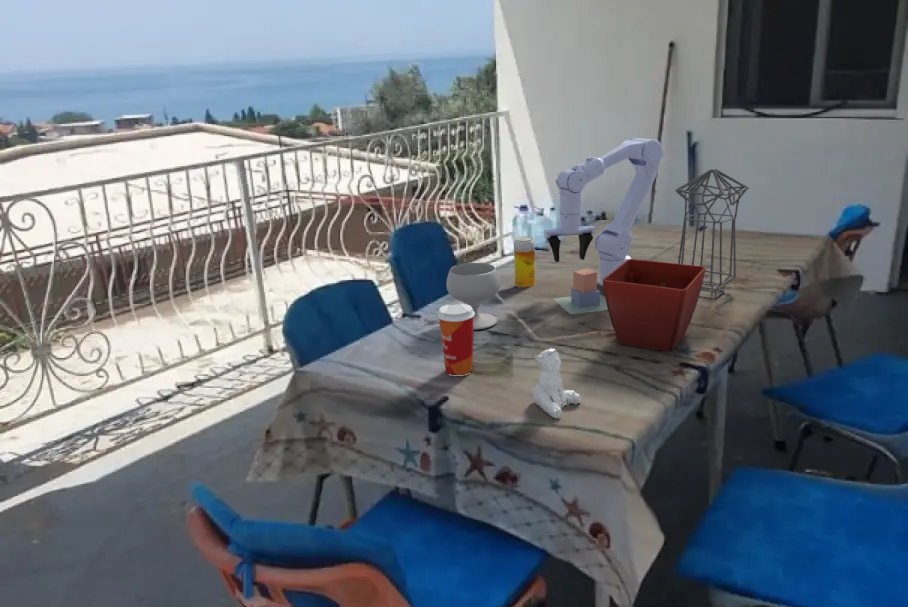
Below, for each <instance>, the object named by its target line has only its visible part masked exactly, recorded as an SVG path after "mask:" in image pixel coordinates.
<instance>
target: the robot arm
mask: <svg viewBox="0 0 908 607" xmlns="http://www.w3.org/2000/svg"><path fill="white" fill-rule="evenodd" d="M663 156H664V150H663V147H662V144H661V142H660V141H659V140H657V139H655V138H653V139H649V138H640V137H639V138H638V137H637V136H634V137H630V138H629V139H626V140H624V141H623V142H622V144H620V145H618V146H617V147H615V148H614V149H612V150H609V152H606V153H605V154H604V155H602V156H600V157H597V156H587V157H586V158H585V160H584V161H583V162H581V163H579V164H574V165H573V166H572V167H571V168H570V169H568V168H567V169H565V168H564V169H563V170H561V171H560V173H559V174H558V176H557V179H555V184H556V186H557V188H558V189H559V193H558V194H559V227H555V228H549V229H544V231H543V233H544V238H546V240H547V241H548V244H549V245H550V248H551V252H552V255H553V260H554V261H555V262H556V263H560V248H561V242H562V241H561V239H559V237H565V236H566V237H567V236H576V235H577V236H578V242H579V244H578V245H579V253H578V255H579V259H580V260H582V261H583V260H585V257H586V254H587V251H588V248H589V247H590V244H591V242H592V240H593V239H594V235H595V234H596V226H593V225H581V212H582V210H581V208H582V207H581V205H582V204H581V203H582V191H583V190H584V189H585V186H586V185H587V184H589V183H590V182H592V181H594V180H596V179H598V178H599V177H602V176H603V175H604V173H605V170H606V169H608V168H610V167H612V166H614V165H616V164H618V163H620V162H622V161H624V160H628V161H629V162H630V164H631V166H632V167H633V169H634V171H635V174H634V177H633V179H632V180H631V184H630V185H629V187H628V189H627V191H626V194H624V197H623V199H622V201H621V203H620V205H619V207H618V210H617V212H616V213H615V216H614V218H613V220H612V222H610V223H609V224H606V225H605V226H604V227H603V229H602V230H601V232H599V233H598V234H597V236H596V237H595V239H594V249H595V250H596V251H597V252H598V254H597V256H599V257H598V258H599V259H598V260H599V261H598V285H600V286H602V287H603V278H605V277H606V276H607V275H609V274H610V273H611V272H613V271H614V270H615V269H616V268H618V267H619V266H620V265H621V264H623V263H624V262H625V261H626V260H628V259H632V257H631V256H630V255H628V254H629V252H630V249H631V243H632V241H633V238H634V237H633V235H632V233H631V228H632V226H633V224H634V222H635V220H636V218H637V216H638V213H640V212H639V211H640V210H641V208H642V206H643V204H644V202H645V200H646V197H647V195H648V193H649V191H650V190H651V188H652V186H653V184H654V181H655V179H656V177H657V175H658V170H659V164H660V161H661V160H662V158H663Z"/></svg>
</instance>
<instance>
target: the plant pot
mask: <svg viewBox="0 0 908 607" xmlns="http://www.w3.org/2000/svg"><path fill="white" fill-rule="evenodd" d="M705 270H707V269H706V267H705V266H703V265H702V266H700V265H695V264H694V265H692V264H684V263H683V264H681V263H680V264H678V263H673V262H663V261H656V260H647V259H646V260H645V259H634V258H631V259H628V260H626V261H625V262H624V263H623V264H621V265H620V266H619V267H618V268H616V269H615V270H614V271H613V272H611V273H610V274H609V275H607V276H606V277H605V278H603V286H602V287H603V293H604V297H605V299H606V303H607V308H608V310H607V313H608V315H609V317H610V318H609V319H610V321H611V326H612V328H613V331H614V334H615V336H616V339H617V341H618V343H619V344H621V345H625V346H630V347H637V348H643V349H648V350H649V349H650V350H655V351H662V352H672V351H674V349H675V348H676V346H677V345H678V344H679V343H680V341H681V340H682V339H683V338H684V336H685V335H686V332H687V330H688V329H689V325H690V323H691V320H692V318H693V315H694V314H695V313H694V312H695V310H696V307H697V304H698V300H699V298H700V297H699V296H701V295H700V294H701V291H702V290H701V289H702V288H701V287H703V285H702V283H704V282H703V281H704V279H705V275H706V272H705Z"/></svg>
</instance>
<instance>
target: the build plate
mask: <svg viewBox="0 0 908 607" xmlns="http://www.w3.org/2000/svg"><path fill="white" fill-rule="evenodd" d="M552 300H553V301H554V302H556V303H557V304H558V305H559V306H560V307H561V308H562V309H564V310H565V311H566V312H567V313H568V314H569V315H579V314H585V313H586V314H588V313H593V312H601V311H603V312H604V311H608V308H607V303H606V299H605V295H602V294H601V293H600V305H599V306H591V307H583V308H579V307H577V306H576V305H575V304H574V303H573V302H571V295H570V296H564V297H554V298H552Z"/></svg>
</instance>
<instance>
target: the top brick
mask: <svg viewBox="0 0 908 607" xmlns="http://www.w3.org/2000/svg"><path fill="white" fill-rule="evenodd" d="M572 275H573V276H572V277H573V281H572V284H573V285H572V287H573V289H575V290H577V291H580V292H582V293H585V292H590V291H594V290H598V287H597V286H598V272H596V271H594V270H591V269H589V268H583V269H579V270H574V271H573V272H572Z"/></svg>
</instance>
